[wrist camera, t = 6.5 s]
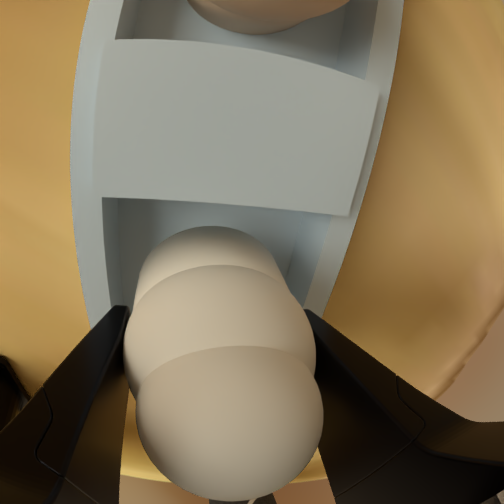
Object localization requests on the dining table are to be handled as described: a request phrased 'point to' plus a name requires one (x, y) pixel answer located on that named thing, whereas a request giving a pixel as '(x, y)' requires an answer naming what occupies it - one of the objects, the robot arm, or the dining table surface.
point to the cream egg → (221, 366)
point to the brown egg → (261, 13)
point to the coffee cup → (261, 503)
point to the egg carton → (224, 137)
